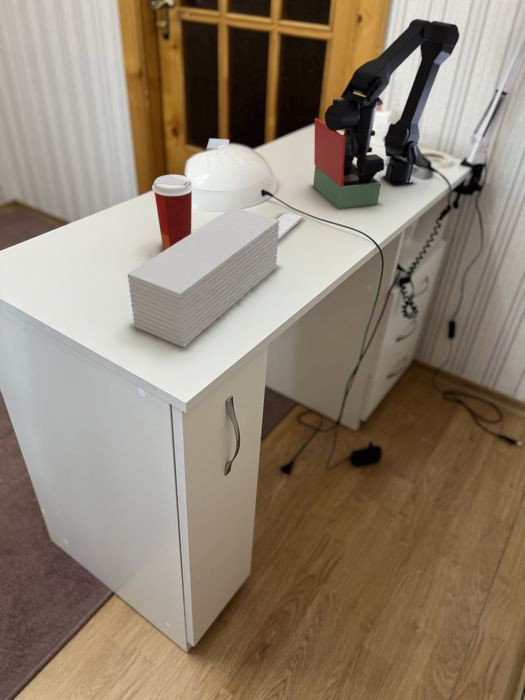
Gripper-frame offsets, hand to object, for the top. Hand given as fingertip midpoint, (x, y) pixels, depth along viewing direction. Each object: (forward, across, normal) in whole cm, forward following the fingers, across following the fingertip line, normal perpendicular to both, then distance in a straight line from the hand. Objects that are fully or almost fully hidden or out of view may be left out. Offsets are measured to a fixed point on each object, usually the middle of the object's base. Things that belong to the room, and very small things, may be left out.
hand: (351, 186), depth 141 cm
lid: (-10, 0, -8) cm, 12 cm away
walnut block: (+2, 0, -1) cm, 2 cm away
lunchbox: (+2, 0, -2) cm, 3 cm away
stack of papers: (+3, +36, -50) cm, 62 cm away
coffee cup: (+3, +16, -52) cm, 54 cm away
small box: (+3, -17, -32) cm, 36 cm away
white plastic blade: (+3, +14, -27) cm, 30 cm away
